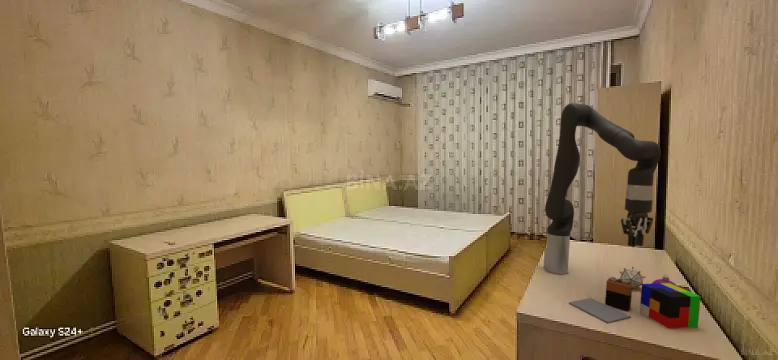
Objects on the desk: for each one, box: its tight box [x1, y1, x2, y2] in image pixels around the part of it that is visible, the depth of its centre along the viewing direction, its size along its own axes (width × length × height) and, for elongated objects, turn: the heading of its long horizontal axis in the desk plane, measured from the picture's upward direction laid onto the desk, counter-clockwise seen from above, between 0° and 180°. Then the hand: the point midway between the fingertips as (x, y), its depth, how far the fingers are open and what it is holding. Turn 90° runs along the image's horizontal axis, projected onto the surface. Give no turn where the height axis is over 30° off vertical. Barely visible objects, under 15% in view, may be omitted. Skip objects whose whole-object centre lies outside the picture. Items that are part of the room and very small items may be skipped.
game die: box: [618, 266, 646, 289], centre depth 126 cm, size 9×8×10 cm
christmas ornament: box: [651, 274, 679, 287], centre depth 114 cm, size 8×8×10 cm
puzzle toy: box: [639, 283, 702, 329], centre depth 101 cm, size 10×10×10 cm
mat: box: [568, 297, 632, 324], centre depth 107 cm, size 14×11×1 cm
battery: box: [604, 276, 633, 312], centre depth 110 cm, size 4×7×10 cm, turn 43°
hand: (635, 245), depth 111 cm, fingers open, 3 cm apart
